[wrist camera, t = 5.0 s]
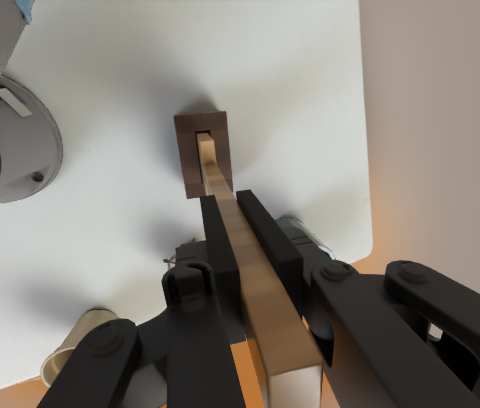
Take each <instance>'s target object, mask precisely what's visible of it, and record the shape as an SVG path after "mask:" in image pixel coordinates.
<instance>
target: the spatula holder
mask: <svg viewBox="0 0 480 408" xmlns="http://www.w3.org/2000/svg"><path fill="white" fill-rule="evenodd" d="M173 117H174V123H175V129H176V135H177V141H178V147H179V154H180V160H181V166H182V172H183V178H184V184H185V190H186V196H187V199H191V198H198V197H200V196H206V192H205V188H204V184H203V178H202V170H201V163H200V156H199V148H198V141H197V134H202V133H208V135H209V136H210V137H211V138H212V139H213V140H214V147H215V156H216V164H217V166H218V168H219V170H220V172H221V173H222V175H223V177H224V179H225V181H226V183H227V184H228V186H229V188H230V190H231V192H232V193H233V182H232V171H231V160H230V149H229V137H228V126H227V115H226V111H211V112H199V113H187V114H176V115H174V116H173Z"/></svg>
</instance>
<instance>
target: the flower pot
mask: <svg viewBox="0 0 480 408" xmlns="http://www.w3.org/2000/svg"><path fill="white" fill-rule="evenodd" d="M114 319H118V318H117V317H116V315H114V314H113V313H112V312H110V311H107V310H92V311H89V312H87V313H85V314H84V315H83V316H82V317H81V318H80V319H79V321H78V322H77V324H76V325H75V327H74V328H73V329H72V331H71V332H70V333H69V335H68V336H67V338H66V339H65V340H64V342H63V343H62V345H61V346H60V347H59V348H57V349H56V350H55V351H54V353H52V354H51V355H50V356H48V357H47V359H46V360H45V361H44V363H43V364H42V367H41V370H40V374H41V379H42V381H43V382H44V384H46V386H48V387H49V388H50V386H51V385H52V383H53V381H54V380H55V378H56V377H57V375H58V374H59V372H60V371H61V369H62V368H63V366H64V365H65V363H66V362H67V360H68V358H69V357H70V355H71V354H72V352H73V351H74V349H75V348H76V346H77V345H78V343H79V342H80V341H81V340H82V339H83V337H84V336H85V335H86V334H87V333H88V332H90V331H91V330H92V329H94V328H95V327H96V326H98V325H100V324H102V323H105V322H107V321H109V320H114Z"/></svg>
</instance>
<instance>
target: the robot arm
mask: <svg viewBox="0 0 480 408" xmlns="http://www.w3.org/2000/svg"><path fill="white" fill-rule="evenodd" d="M34 1H35V0H0V203H7V202H12V201H17V200H20V199H24V198H26V197H29V196H31V195H33V194H35V193H37V192H38V191H40V190H42V189H43V188H45V187H46V186H47V185H48V184H49V183H50V182H51V181H52V180H53V179H54V178H55V176H56V175H57V173H58V171H59V169H60V166H61V163H62V157H63V145H62V139H61V135H60V132H59V129H58V127H57V125H56V123H55V121H54V119H53V117H52V116H51V114H50V113H49V111H48V110H47V109H46V107H45V106H44V105H43V104H42V103H41V102H40V101H39V100H38V99H37V98H36V97H35V96H34V95H33V94H32V93H31V92H29V91H28V90H27V89H25V88H24V87H23V86H21V85H19V84H18V83H16V82H14V81H12V80H11V79H9V78H7V77H4V76H2V75H1V74H2V72H3V70H4V68H5V66H6V64H7V62H8V60H9V58H10V56H11V54H12V52H13V50H14V48H15V46H16V44H17V42H18V40H19V38H20V35H21V33H22V31H23V29H24V27H25V25H26V24H28V25H29V24H30V23H31V20H32V17H31V13H30V12H31V9H32V6H33V3H34ZM236 196H237V203H238V205H239V206H240V208H241V210H242V212H243V214H244V216H245V217H246V219H247V221H248V223H249V225H250V227H251V228H252V230H253V232H254V234H255V236H256V238H257V239H258V241H259V243H260V245H261V247H262V249H263V250H264V252H265V254H266V256H267V258H268V260H269V261H270V263H271V265H272V267H273V269H274V271H275V272H276V274H277V276H278V278H279V279H280V281H281V283H282V285H283V287H284V288H285V290H286V292H287V294H288V296H289V298H290V299H291V301H292V303H293V305H294V307H295V309H296V310H297V312H298V314H299V316H300V318H301V319H302V315H303V316H304V318H305V320H306V322H307V323H308V325H309V330H308V332H309V334H310V336H311V338H312V340H313V341H314V343H315V345H316V347H317V349H318V351H319V352H320V354H321V356H322V358H323V361H324V366H323V371H324V373H325V375H326V378H327V380H328V382H329V384H330V386H331V388H332V391H333V393H334V395H335V397H336V399H337V402H338V404H339V406H340V408H480V294H478V293H477V292H475V291H473V290H471V289H469V288H467V287H466V286H464V285H462V284H460V283H458V282H456V281H454V280H452V279H450V278H448V277H447V276H445V275H443V274H441V273H439V272H437V271H435V270H433V269H431V268H429V267H427V266H424V265H422V264H420V263H415V262H412V261H402V260H399V261H393V262H391V263H389V264H388V265H387V267H386V273H385V275H376V274H359V273H358V271H357V270H355V268H353V267H352V266H351V265H349V264H347V263H345V262H342V261H339V260H333V259H330V258H329V257H328V256H327V255H326V254H325V253H324V252H323V251H322V250H321V249H320V248H319V247H318V246H317V245H316V244H315V243H314V242H313V240H312V239H311V238H310V237H308V235H307V234H306V233H305V232H304V231H303V230H302V229H300V228H298V227H295V226H293V225H290V226H284V227H279V225H278V224H277V223H276V222H275V220H274V219H273V218H272V217H271V215H270V214H269V213H268V212H267V210H266V209H265V208H264V206H263V205H262V204H261V203H260V201H259V200H258V199H257V198H256V196H255V195H254V194H253V193H252V191H251V190H243V191H236ZM200 203H201V210H202V217H203V224H204V231H205V238H206V240H205V241H199V242H193V243H187V244H182V245H181V246H180V247H179V249H178V250H177V251H176V258H175V261H176V262H175V266H174V267H172V268H171V269H169V270H168V271H167V272H166V273H165V274H164V275H163V278H162V281H161V282H162V287H163V291H164V295H165V299H166V304H167V308H166V309H165V310H164V311H163V312H162V313H161V314H159V315H158V316H156V317H155V318H153V319H151V320H149V321H147V322H145V323H142V324H140V325H138V326H136V325H135V323H134V322H132V321H130V320H129V319H121V318H119V319H114V320H109V321H107V322H105V323H102V324H100V325H98V326H96V327H95V328H94V329H92V330H91V331H90V332H88V333H87V334H86V335H85V336H84V337H83V339H82V340H81V341H80V342H79V343H78V345H77V346H76V348H75V349H74V351H73V352H72V354H71V355H70V357H69V358H68V360H67V362H66V363H65V365H64V366H63V368H62V369H61V371H60V372H59V374H58V375H57V377H56V378H55V380H54V381H53V383H52V385H51V386H50V388H49V389H48V391H47V392H46V394H45V396H44V397H43V398H42V400H41V401H40V403H39V404H38V406H37V408H160V407H162V406H164V405H165V404H167V408H246V405H245V401H244V398H243V394H242V390H241V386H240V382H239V378H238V374H237V371H236V367H235V363H234V359H233V355H232V351H231V347H230V344H235V343H239V342H243V341H246V337H245V330H244V327H243V317H242V306H241V296H240V287H241V282H240V271H239V267H238V264H237V261H236V258H235V255H234V252H233V249H232V246H231V243H230V240H229V237H228V234H227V231H226V228H225V225H224V222H223V219H222V216H221V213H220V210H219V207H218V204H217V201H216V198H215V195H207V196H200ZM431 324H434V325H435V326H437V327H438V328H439V329H441V330H442V331H443V333H442V336H441V339H439V338H435V337H434V336H432V335H430V334H429V331H430V327H431Z"/></svg>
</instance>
